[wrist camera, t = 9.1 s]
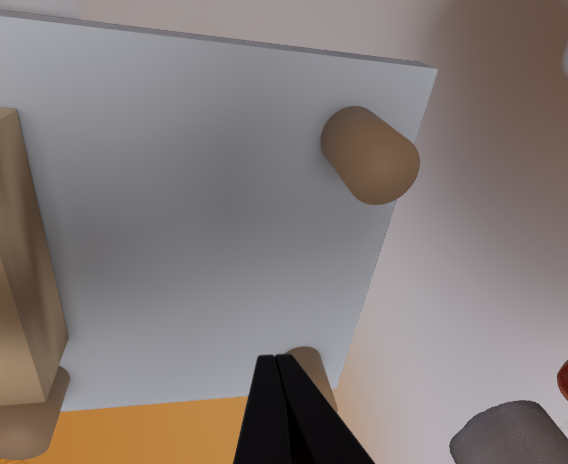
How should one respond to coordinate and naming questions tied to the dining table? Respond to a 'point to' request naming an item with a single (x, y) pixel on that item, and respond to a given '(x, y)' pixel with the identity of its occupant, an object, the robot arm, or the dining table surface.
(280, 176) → the grey peg board
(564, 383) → the snack package
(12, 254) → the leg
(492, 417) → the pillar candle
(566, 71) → the dining table surface
